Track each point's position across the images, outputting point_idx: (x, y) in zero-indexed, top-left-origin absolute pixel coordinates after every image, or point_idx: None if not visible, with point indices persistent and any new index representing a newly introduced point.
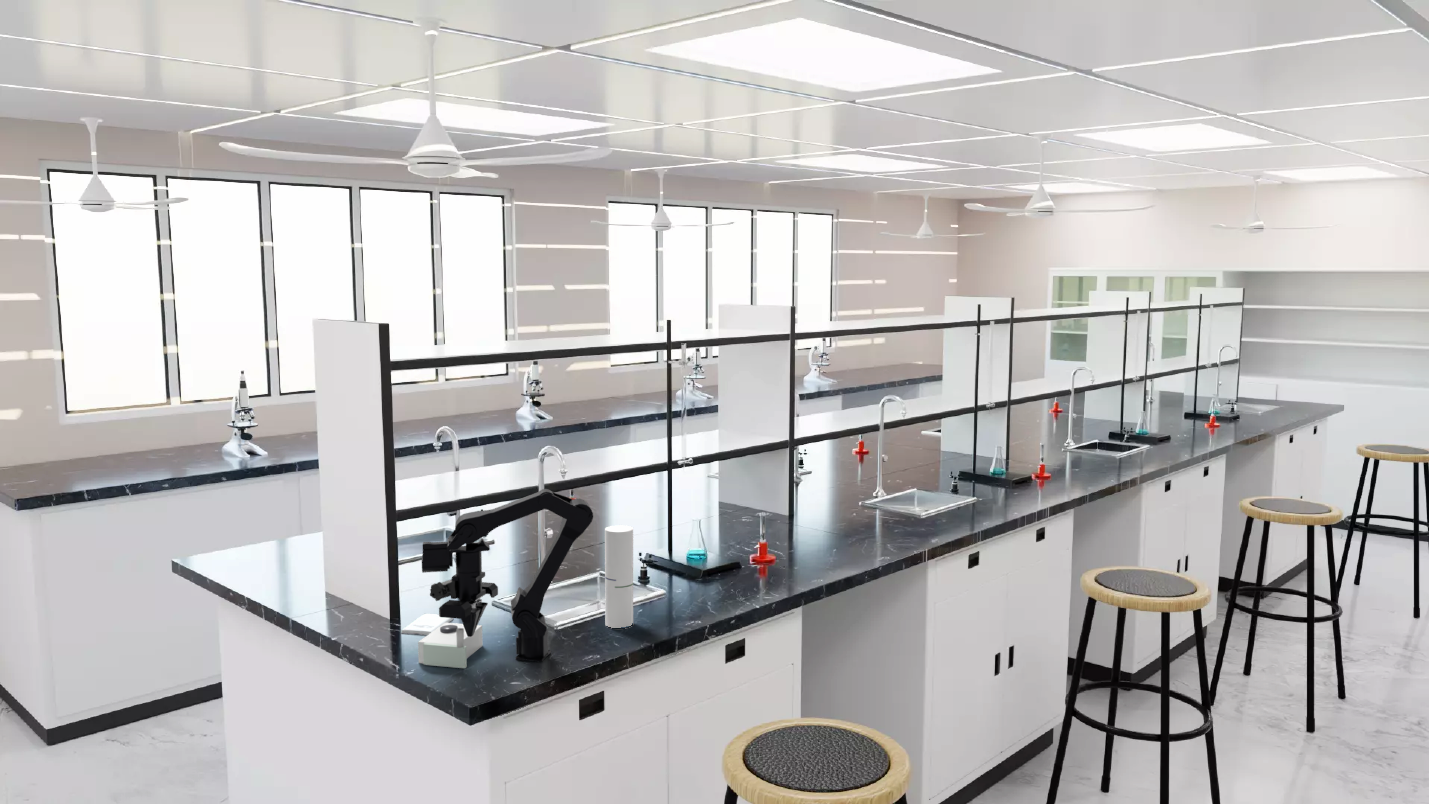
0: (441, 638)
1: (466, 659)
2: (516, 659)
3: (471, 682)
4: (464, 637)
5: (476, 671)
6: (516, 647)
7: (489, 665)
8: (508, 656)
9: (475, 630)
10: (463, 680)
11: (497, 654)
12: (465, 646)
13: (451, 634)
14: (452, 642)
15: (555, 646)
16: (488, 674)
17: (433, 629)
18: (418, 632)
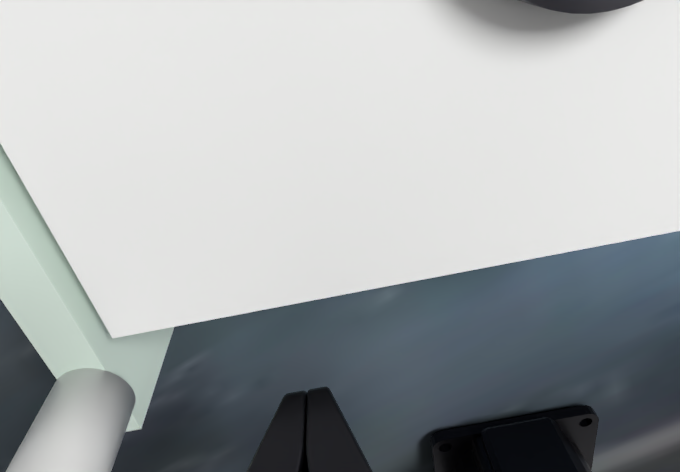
0: (177, 3)
1: (172, 331)
2: (430, 440)
3: (30, 425)
4: (364, 269)
5: (178, 362)
6: (497, 468)
7: (301, 368)
8: (477, 375)
9: (632, 236)
10: (16, 380)
11: (493, 310)
12: (128, 429)
13: (405, 39)
14: (147, 251)
15: (671, 468)
16: (182, 430)
17: None
18: None
